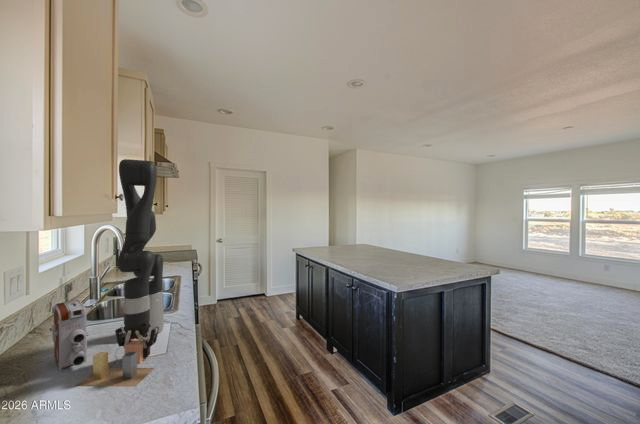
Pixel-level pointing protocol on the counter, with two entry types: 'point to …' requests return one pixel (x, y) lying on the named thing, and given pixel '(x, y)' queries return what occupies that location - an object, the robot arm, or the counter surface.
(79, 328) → the cine camera
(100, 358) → the brass post
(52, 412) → the counter surface
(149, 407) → the counter surface
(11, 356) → the counter surface
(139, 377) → the board
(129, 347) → the peach foam brick
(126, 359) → the steel post
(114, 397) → the counter surface
